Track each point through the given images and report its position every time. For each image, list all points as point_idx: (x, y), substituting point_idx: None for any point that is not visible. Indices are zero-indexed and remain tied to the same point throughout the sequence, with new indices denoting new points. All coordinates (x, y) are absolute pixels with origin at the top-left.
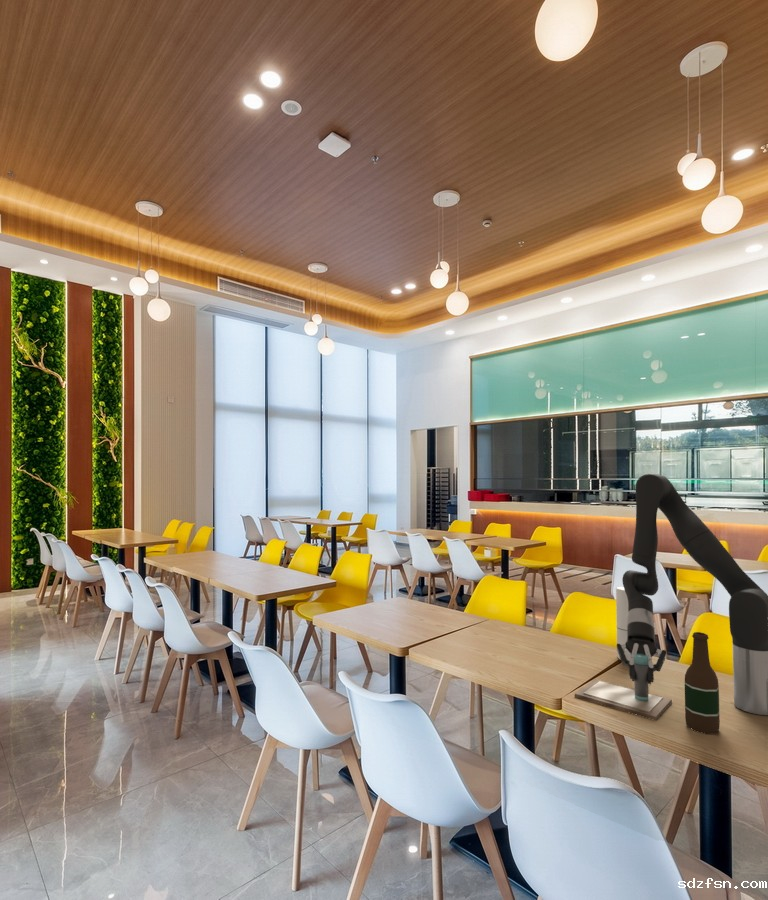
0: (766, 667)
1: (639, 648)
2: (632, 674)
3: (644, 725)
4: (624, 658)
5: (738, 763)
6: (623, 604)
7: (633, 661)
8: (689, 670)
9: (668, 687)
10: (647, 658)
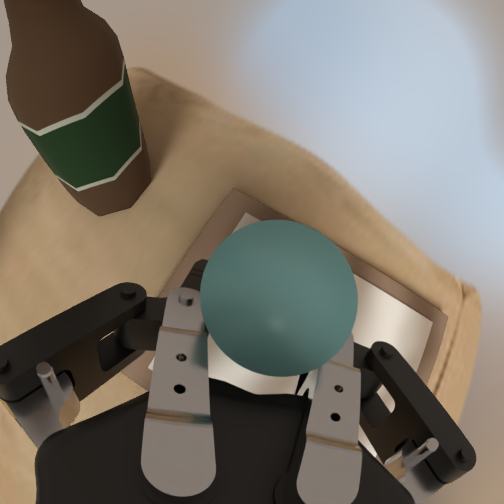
0: None
1: (269, 473)
2: None
3: (275, 161)
4: (392, 362)
5: (143, 72)
6: None
7: None
8: (100, 27)
9: None
10: (224, 244)
